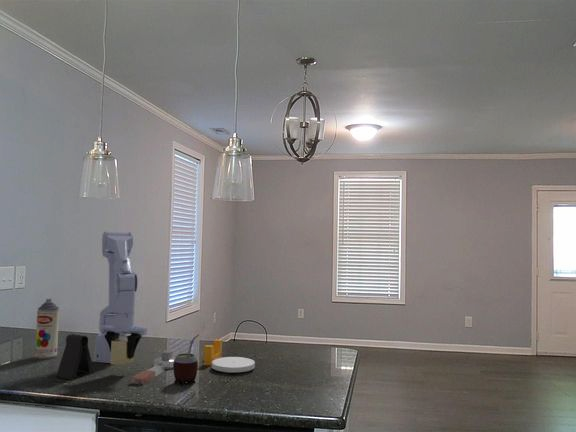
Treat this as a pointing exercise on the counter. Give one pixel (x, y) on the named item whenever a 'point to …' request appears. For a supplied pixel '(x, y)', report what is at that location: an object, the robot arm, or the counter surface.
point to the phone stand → (75, 358)
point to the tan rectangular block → (120, 352)
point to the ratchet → (155, 368)
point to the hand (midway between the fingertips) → (122, 357)
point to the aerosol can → (47, 331)
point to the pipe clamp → (212, 352)
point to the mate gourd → (186, 366)
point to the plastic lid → (233, 364)
